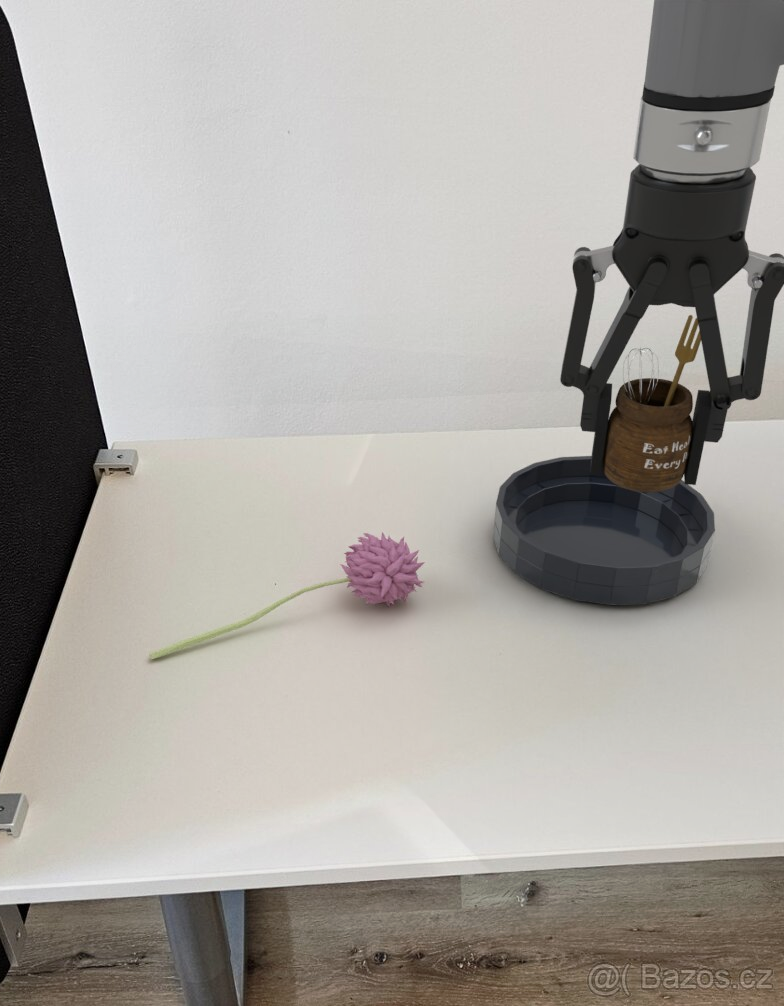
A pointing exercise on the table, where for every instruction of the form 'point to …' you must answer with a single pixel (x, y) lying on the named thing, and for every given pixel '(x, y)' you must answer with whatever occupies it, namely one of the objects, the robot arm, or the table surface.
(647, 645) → the table surface
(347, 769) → the table surface
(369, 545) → the artificial flower
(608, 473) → the utensil holder
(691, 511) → the bowl
